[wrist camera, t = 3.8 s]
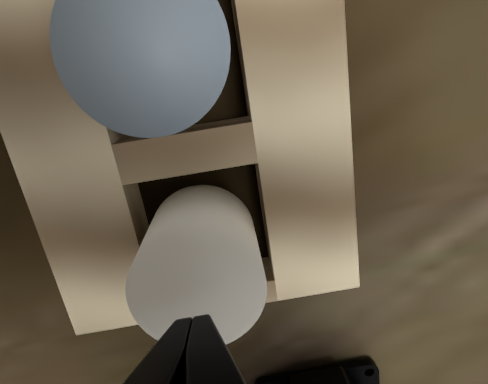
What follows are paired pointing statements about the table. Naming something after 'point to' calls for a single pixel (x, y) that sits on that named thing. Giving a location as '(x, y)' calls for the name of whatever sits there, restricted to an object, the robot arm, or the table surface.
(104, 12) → the button slate
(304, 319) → the table surface
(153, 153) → the board
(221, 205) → the button cream
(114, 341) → the table surface
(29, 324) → the table surface
